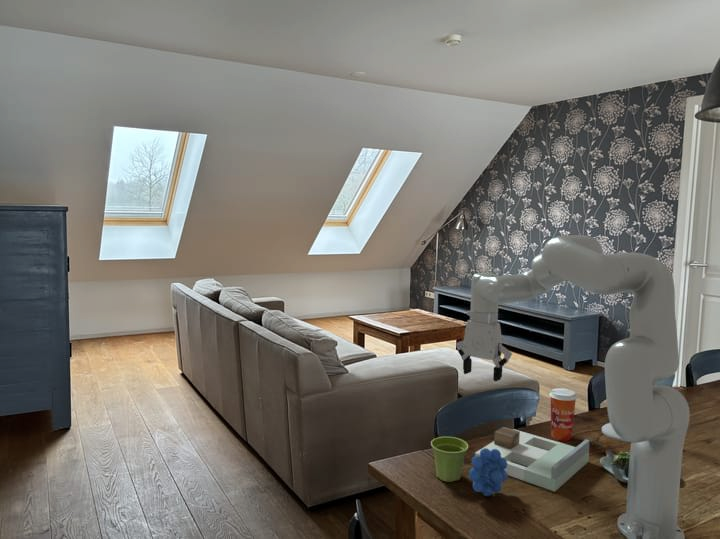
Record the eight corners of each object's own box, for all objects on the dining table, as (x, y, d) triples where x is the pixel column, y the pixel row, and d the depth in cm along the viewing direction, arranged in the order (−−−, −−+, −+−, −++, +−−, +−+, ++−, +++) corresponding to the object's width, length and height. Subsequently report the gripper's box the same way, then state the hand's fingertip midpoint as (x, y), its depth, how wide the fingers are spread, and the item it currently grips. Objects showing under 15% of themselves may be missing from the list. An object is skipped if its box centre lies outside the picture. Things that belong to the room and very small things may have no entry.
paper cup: (548, 441, 165) (550, 394, 163) (546, 431, 172) (548, 386, 170) (577, 443, 163) (579, 397, 161) (573, 433, 170) (575, 388, 169)
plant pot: (468, 470, 146) (469, 438, 145) (465, 488, 137) (466, 454, 136) (433, 466, 148) (433, 434, 147) (427, 482, 139) (428, 449, 138)
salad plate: (580, 458, 154) (581, 442, 154) (637, 453, 158) (638, 437, 157) (626, 493, 135) (627, 474, 135) (690, 486, 139) (691, 468, 138)
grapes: (481, 510, 126) (483, 459, 125) (462, 497, 132) (463, 448, 131) (519, 497, 132) (521, 449, 131) (498, 485, 138) (500, 438, 137)
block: (510, 449, 152) (511, 436, 151) (494, 444, 155) (494, 431, 155) (519, 443, 155) (519, 431, 155) (502, 438, 159) (503, 426, 158)
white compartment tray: (554, 491, 135) (555, 467, 134) (474, 463, 150) (475, 441, 149) (588, 461, 151) (589, 440, 151) (513, 438, 166) (514, 419, 165)
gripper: (450, 314, 160) (448, 373, 162) (505, 323, 148) (503, 386, 150) (464, 311, 166) (462, 367, 167) (518, 319, 154) (516, 380, 156)
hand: (482, 376), depth 159 cm, fingers open, 9 cm apart
